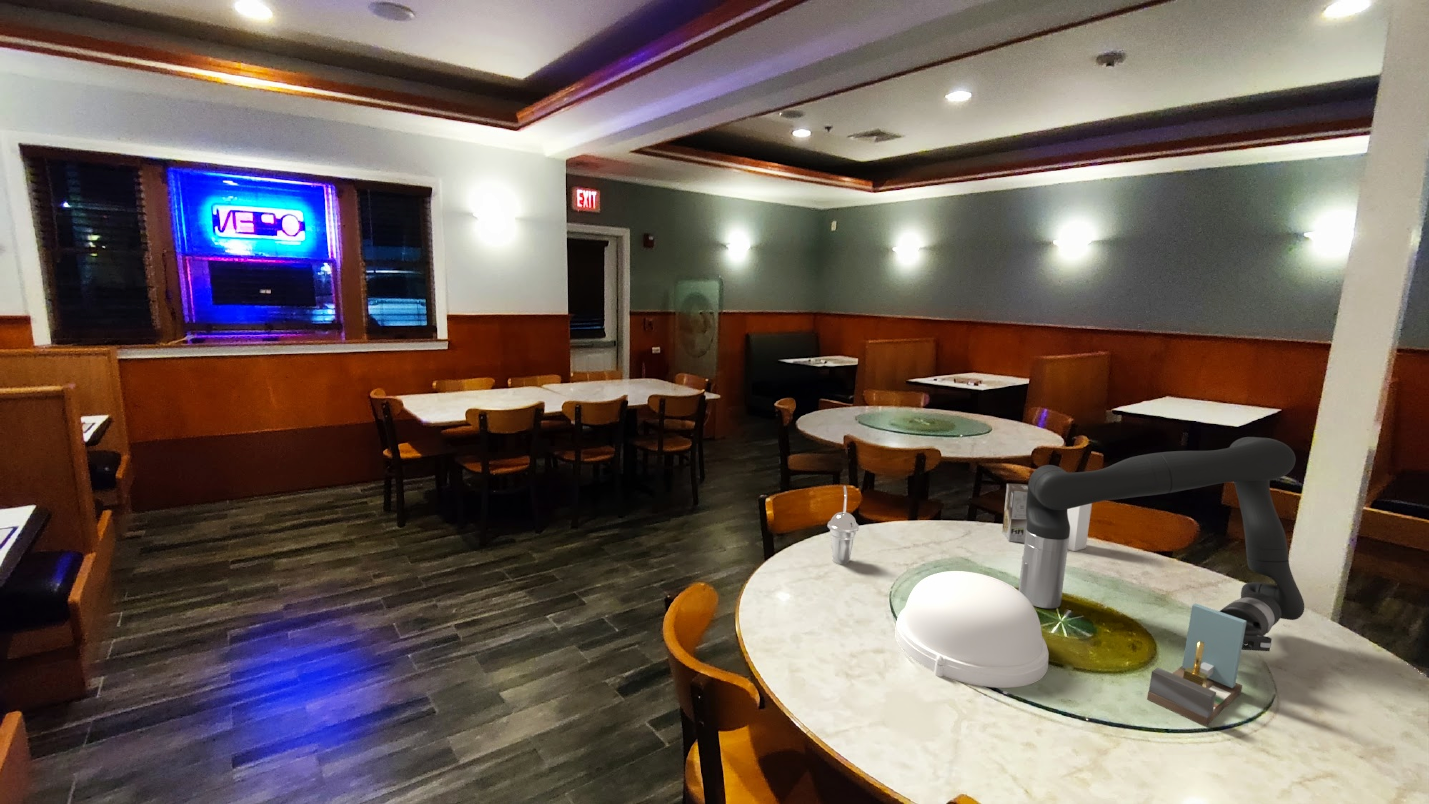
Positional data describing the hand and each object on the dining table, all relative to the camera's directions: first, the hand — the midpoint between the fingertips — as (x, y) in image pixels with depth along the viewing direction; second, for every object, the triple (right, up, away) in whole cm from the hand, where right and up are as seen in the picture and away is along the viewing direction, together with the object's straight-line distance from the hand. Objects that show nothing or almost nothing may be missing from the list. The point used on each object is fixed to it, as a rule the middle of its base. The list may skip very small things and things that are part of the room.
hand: (1214, 643), depth 122 cm
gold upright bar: (-7, -6, -4) cm, 10 cm away
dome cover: (-42, -6, +13) cm, 44 cm away
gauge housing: (-6, -9, -2) cm, 11 cm away
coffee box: (-2, +4, +77) cm, 77 cm away
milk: (+12, +2, +71) cm, 72 cm away
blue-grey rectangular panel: (-2, -7, 0) cm, 7 cm away
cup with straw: (-60, +2, +55) cm, 81 cm away
